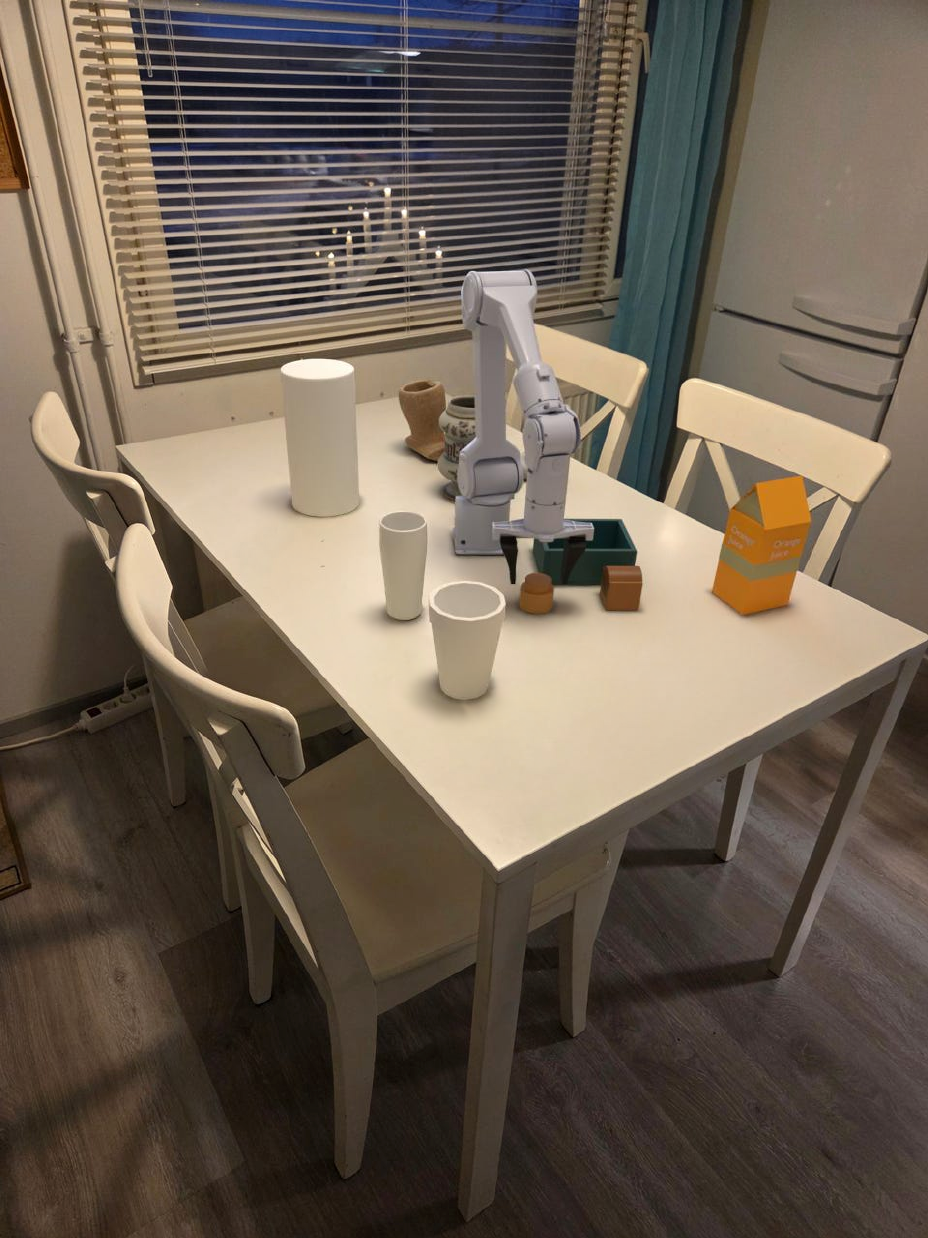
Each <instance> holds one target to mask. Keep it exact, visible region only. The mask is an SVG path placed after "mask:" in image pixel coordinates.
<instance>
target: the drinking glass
mask: <svg viewBox="0 0 928 1238" xmlns="http://www.w3.org/2000/svg"><path fill="white" fill-rule="evenodd" d="M378 542H379V543H378V546H379V555H380V563H381V571H382V580H383V587H384V595H385V611H386V613H387V615H388V616H389V617H390V618H392V619H394V620H397V621H409V620H413V619H416V618H418V617H419V615H421V614H422V611H423V594H424V582H425V576H426V575H425V574H426V573H425V572H426V563H427V555H428V521H427V518H425V516H424V515H422V514H420V513H418V512H414V511H408V510H407V511H406V510H401V511H400V510H398V511H393V512H389V513H386V514H384V515H382V516H381V517H380V519H379V524H378Z"/></svg>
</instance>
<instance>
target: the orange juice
mask: <svg viewBox="0 0 928 1238" xmlns="http://www.w3.org/2000/svg"><path fill="white" fill-rule="evenodd" d="M808 501H809V500H808V498H807V492H806V488H805V482H804V477H803V475H796V476H791V477H790V476H789V477H785V478H779V479H772V480H766V481H759V482H755V484H754V485H753V486H752V487H751V488H750V489H749V490H748V491H747V492H746V493H745V494H744V495H743V496H742V497H741V498H740V499H739V500H738V501H737V502H736V503H735V504H734V505H733V506H732V507H730V509H729V513H728V518H727V522H726V526H725V532H724V535H723V539H722V544H721V548H720V552H719V557H718V561H717V562H718V563H717V567H716V571H715V575H714V579H713V584H712V589H711V593H713V595H715V596H716V597H718V598H719V599H720V600H722V601H723V602H725V604H727V605H728V606H729V607H731V608H732V609H733V610H735V611H736V612H737V613H738V614H740V615H742V616H746V615H750V614H755V613H760V612H765V611H768V610H772V609H776V608H781V607H784V606H785V607H786V606H788V605H789V601H790V597H791V594H792V590H793V587H794V583H795V579H796V577H797V572H798V570H799V567H800V564H801V560H802V555H803V551H804V548H805V545H806V540H807V538H808V534H809V530H810V527H811V523H812V516H811V512H810V511H811V510H810V507H809V502H808Z"/></svg>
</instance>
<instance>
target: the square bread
mask: <svg viewBox="0 0 928 1238" xmlns="http://www.w3.org/2000/svg"><path fill="white" fill-rule="evenodd" d="M643 584H644V583H643V573H642V569H641V567H640V565H635V566H605V567H603V573H602V581H601V585H600V587H599V588H600V589H599V595H600V598H601V601H602V604H603V607H604V609H605V611H639V607H640V601H641V597H642V590H643Z"/></svg>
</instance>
